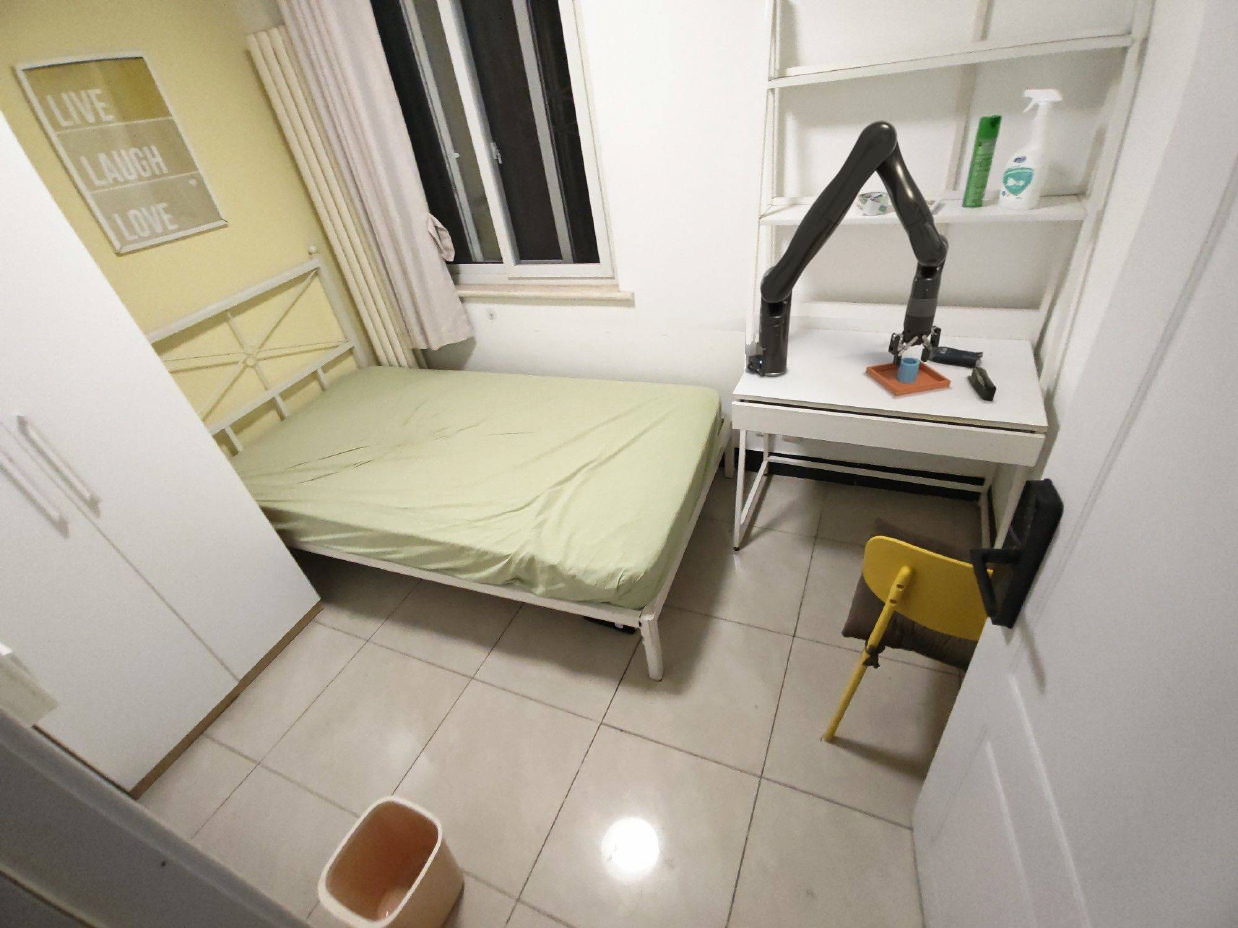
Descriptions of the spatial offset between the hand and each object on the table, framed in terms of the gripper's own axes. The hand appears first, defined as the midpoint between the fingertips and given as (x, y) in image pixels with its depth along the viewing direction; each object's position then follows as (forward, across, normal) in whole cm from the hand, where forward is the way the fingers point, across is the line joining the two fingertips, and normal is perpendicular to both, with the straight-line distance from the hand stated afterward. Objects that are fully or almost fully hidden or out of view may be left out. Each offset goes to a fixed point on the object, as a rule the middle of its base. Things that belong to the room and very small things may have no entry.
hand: (910, 363), depth 166 cm
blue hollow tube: (+5, 0, 0) cm, 5 cm away
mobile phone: (+6, -15, +12) cm, 20 cm away
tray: (+6, 0, 0) cm, 6 cm away
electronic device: (+6, -20, -7) cm, 22 cm away
